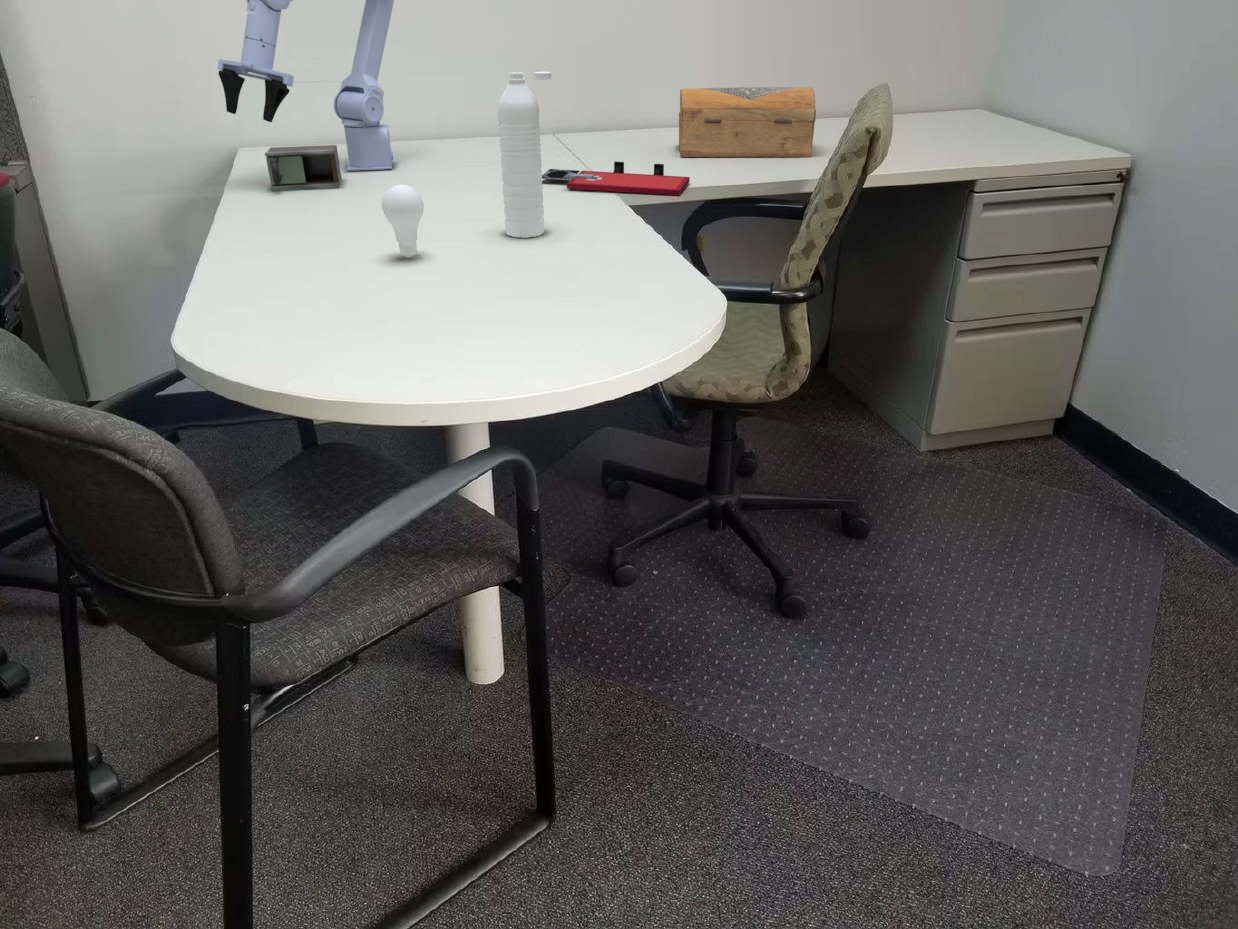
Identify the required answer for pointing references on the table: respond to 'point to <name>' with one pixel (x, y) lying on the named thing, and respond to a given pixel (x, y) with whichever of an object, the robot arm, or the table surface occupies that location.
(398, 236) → the lightbulb
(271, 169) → the closet door
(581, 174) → the red board with handle
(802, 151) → the wooden box
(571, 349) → the table surface
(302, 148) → the cabinet
